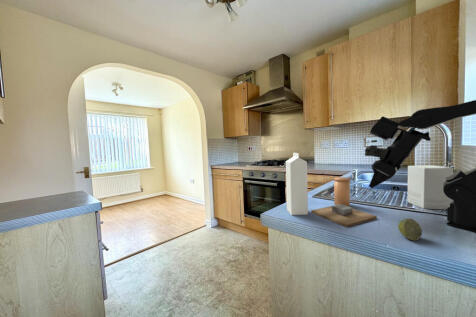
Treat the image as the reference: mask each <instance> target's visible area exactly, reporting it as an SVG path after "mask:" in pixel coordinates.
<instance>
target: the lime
mask: <svg viewBox="0 0 476 317" xmlns="http://www.w3.org/2000/svg"><path fill="white" fill-rule="evenodd" d="M398 231H399V233H401V234H402V236H404V237H405V238H407V239H408V240H411V241H418V240H419V239H420V238H421V237H422V235H423V229H422V227H421V225H420V223H419V222H418V221H416V220H415V219H413V218H404V219H402V220H400V221H399V222H398Z"/></svg>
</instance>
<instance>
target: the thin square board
mask: <svg viewBox="0 0 476 317" xmlns="http://www.w3.org/2000/svg"><path fill="white" fill-rule="evenodd" d="M310 212H311V213H310V214H314V215H316V216H318V217H321V218H324V219H326V220H328V221H330V222H333V223H334V224H337V225H341V226H343V227H345V228H348V227H352V226H356V225H358V224H364V223H367V222H369V221H370V222H371V221H373V220H377V219H378V216H377V215H373V214H371V213H367V212H365V211H361V210H358V209H355V208H353V206H352V207H351V206H349V207H348V206H345V205H342V204H340V205H335V204H334V205H330V206H325V207H321V208H316V209H312V210H310Z"/></svg>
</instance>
